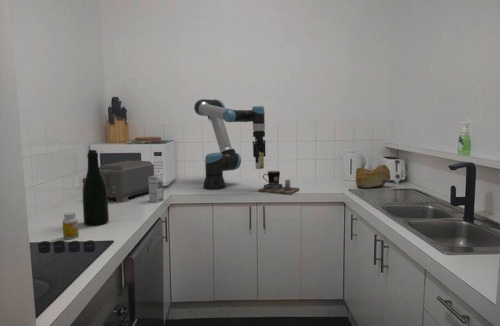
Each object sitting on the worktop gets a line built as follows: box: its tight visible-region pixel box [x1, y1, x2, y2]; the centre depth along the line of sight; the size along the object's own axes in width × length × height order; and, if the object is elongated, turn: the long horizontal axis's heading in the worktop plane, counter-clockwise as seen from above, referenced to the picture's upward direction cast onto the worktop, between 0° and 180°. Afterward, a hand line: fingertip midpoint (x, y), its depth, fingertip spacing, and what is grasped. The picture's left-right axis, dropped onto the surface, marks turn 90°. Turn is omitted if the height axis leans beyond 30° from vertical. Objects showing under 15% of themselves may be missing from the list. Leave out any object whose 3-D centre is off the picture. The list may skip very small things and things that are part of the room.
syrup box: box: [148, 174, 165, 203], centre depth 209 cm, size 6×6×14 cm
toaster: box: [99, 160, 155, 203], centre depth 222 cm, size 19×35×20 cm, turn 159°
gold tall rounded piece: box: [255, 151, 265, 170], centre depth 235 cm, size 5×5×10 cm
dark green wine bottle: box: [82, 149, 110, 226], centre depth 164 cm, size 10×10×33 cm
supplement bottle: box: [62, 211, 80, 240], centre depth 145 cm, size 5×5×10 cm
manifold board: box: [257, 179, 300, 196], centre depth 236 cm, size 22×16×8 cm
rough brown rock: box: [355, 164, 391, 189], centre depth 249 cm, size 23×17×15 cm
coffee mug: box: [262, 170, 281, 184], centre depth 255 cm, size 12×9×10 cm
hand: (259, 167), depth 235 cm, fingers closed on gold tall rounded piece, 5 cm apart
